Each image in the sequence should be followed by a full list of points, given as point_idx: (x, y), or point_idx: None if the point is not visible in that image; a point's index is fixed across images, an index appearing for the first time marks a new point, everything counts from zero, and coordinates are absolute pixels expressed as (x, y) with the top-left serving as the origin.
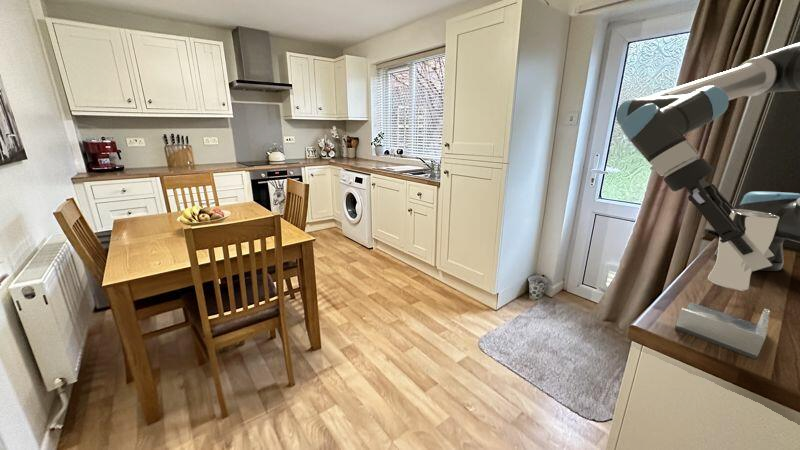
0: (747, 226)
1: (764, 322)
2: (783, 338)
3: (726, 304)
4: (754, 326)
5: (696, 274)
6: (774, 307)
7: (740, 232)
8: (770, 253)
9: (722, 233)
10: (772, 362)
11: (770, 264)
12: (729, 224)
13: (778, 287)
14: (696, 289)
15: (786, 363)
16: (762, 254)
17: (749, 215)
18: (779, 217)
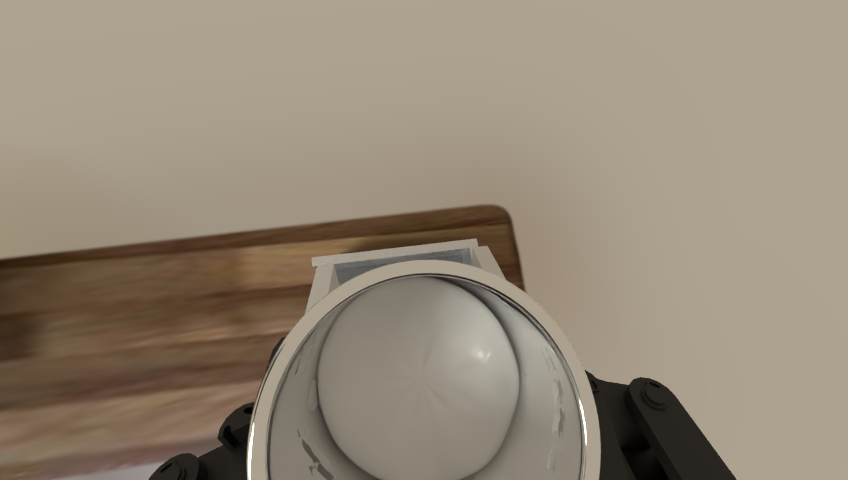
0: (551, 386)
1: (401, 252)
2: (332, 233)
3: (248, 336)
4: (342, 272)
5: (61, 455)
6: (166, 268)
7: (598, 387)
8: (333, 274)
9: (641, 452)
10: (449, 230)
11: (489, 249)
12: (721, 468)
13: None
14: (205, 411)
15: (432, 217)
16: (501, 276)
17: (595, 435)
18: (405, 263)
